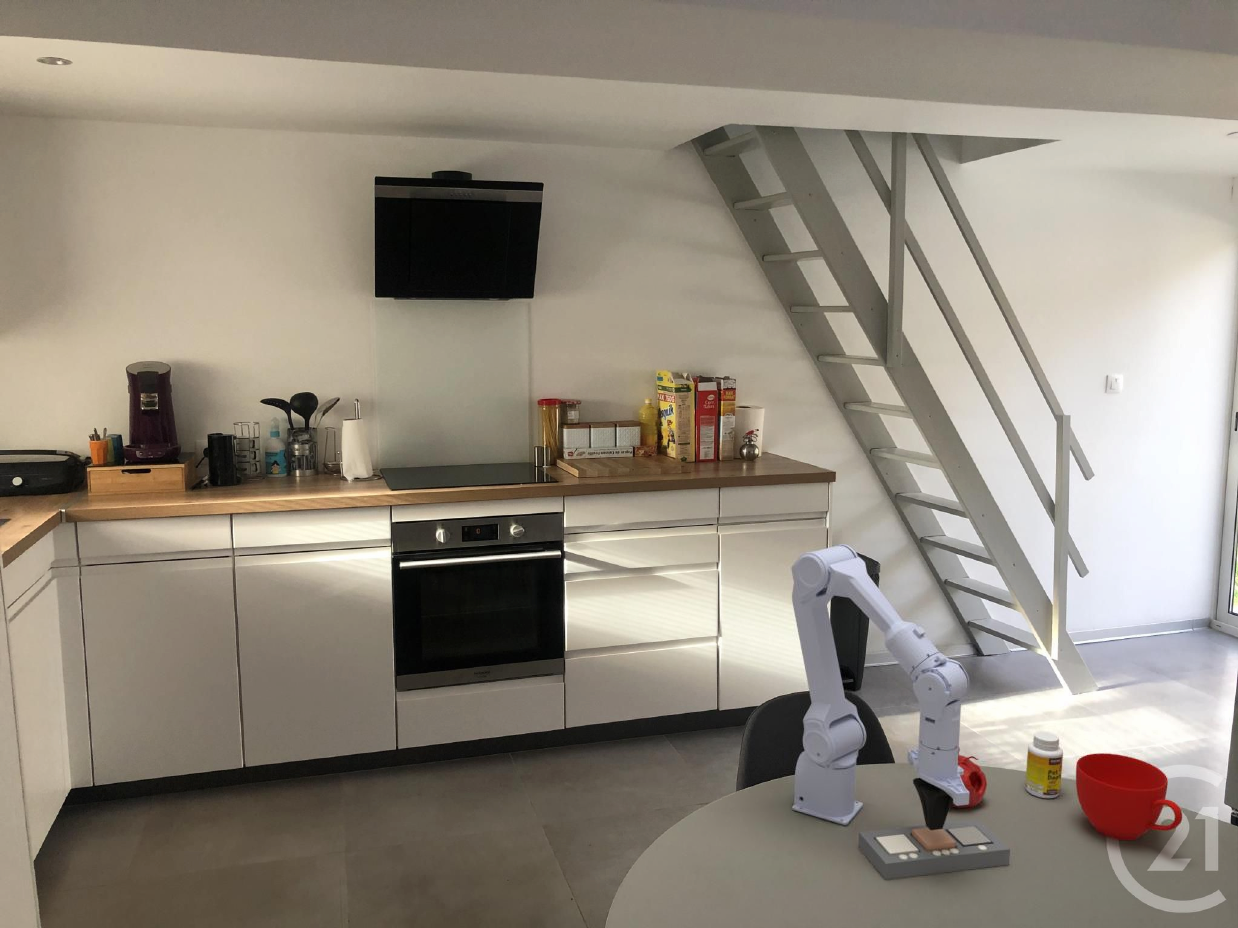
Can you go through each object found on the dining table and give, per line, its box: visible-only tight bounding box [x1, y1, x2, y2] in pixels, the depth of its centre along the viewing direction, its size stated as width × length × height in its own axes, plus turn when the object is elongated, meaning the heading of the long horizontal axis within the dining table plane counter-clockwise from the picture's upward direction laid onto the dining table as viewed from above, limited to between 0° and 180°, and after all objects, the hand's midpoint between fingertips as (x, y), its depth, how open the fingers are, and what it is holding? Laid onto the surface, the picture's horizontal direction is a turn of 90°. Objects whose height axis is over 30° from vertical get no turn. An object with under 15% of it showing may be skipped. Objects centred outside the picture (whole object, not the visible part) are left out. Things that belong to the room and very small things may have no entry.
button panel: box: [857, 818, 1011, 881], centre depth 150 cm, size 20×9×3 cm, turn 102°
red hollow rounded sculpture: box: [951, 747, 988, 809], centre depth 167 cm, size 10×10×9 cm
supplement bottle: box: [1024, 731, 1064, 799], centre depth 169 cm, size 6×6×10 cm
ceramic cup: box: [1075, 752, 1183, 841], centre depth 155 cm, size 13×17×10 cm
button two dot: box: [876, 834, 919, 856], centre depth 148 cm, size 5×5×2 cm
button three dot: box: [912, 828, 956, 851], centre depth 149 cm, size 5×5×2 cm
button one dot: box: [948, 826, 991, 847], centre depth 151 cm, size 5×5×2 cm
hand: (934, 827), depth 149 cm, fingers closed
